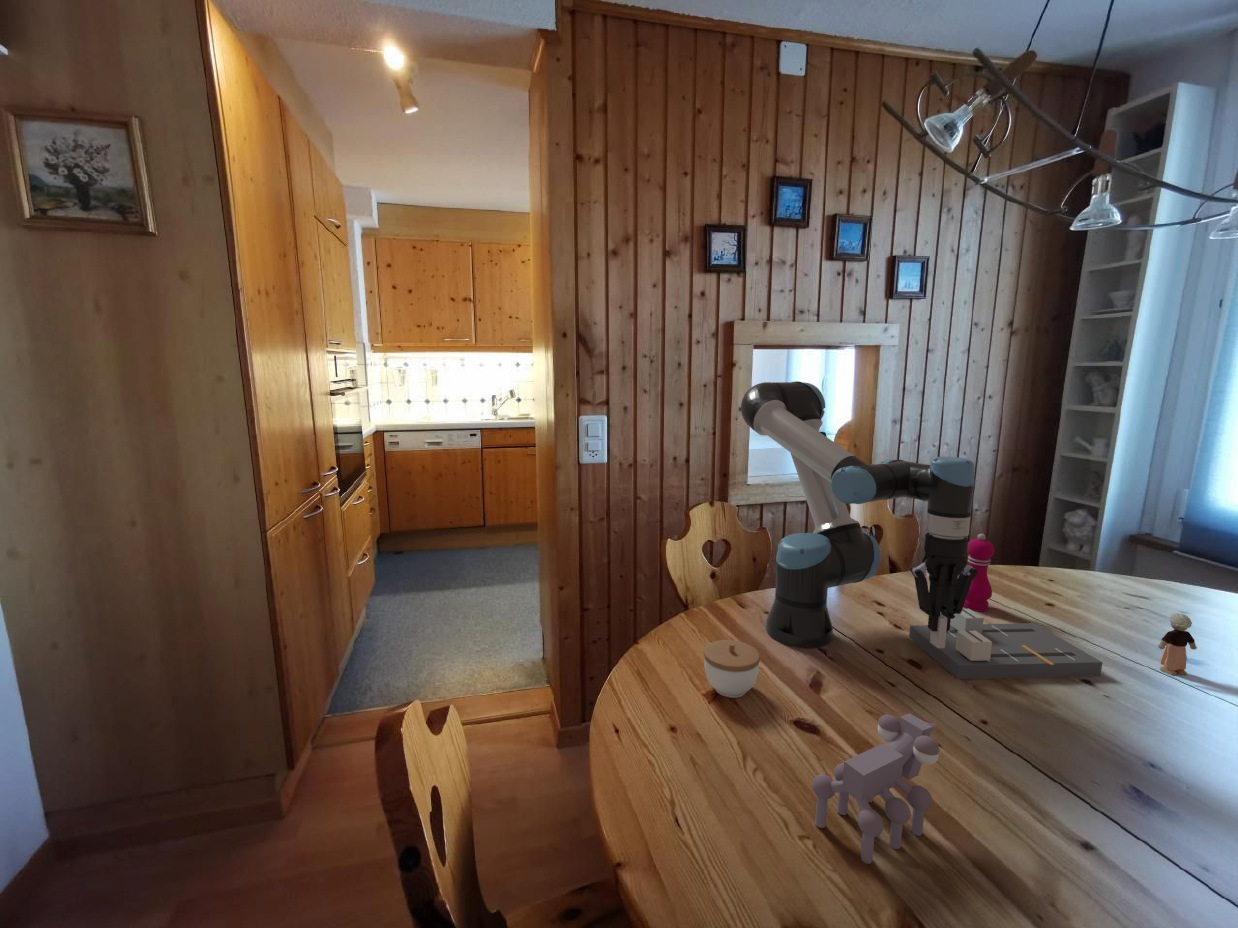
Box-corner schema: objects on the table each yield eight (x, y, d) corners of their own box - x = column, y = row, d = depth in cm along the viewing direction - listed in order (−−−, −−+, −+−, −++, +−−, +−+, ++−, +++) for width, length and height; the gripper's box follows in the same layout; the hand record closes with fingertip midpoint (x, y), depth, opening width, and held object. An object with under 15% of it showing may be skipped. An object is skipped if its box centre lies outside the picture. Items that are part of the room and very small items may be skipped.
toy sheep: (895, 769, 88) (907, 691, 85) (963, 819, 79) (979, 734, 76) (802, 816, 78) (812, 731, 76) (867, 879, 69) (881, 785, 66)
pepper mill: (962, 610, 146) (970, 536, 143) (954, 599, 153) (962, 528, 150) (994, 613, 144) (1002, 538, 141) (985, 602, 151) (993, 531, 148)
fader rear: (964, 635, 125) (966, 617, 125) (950, 625, 130) (952, 608, 129) (981, 634, 125) (983, 617, 125) (967, 624, 130) (969, 607, 130)
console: (959, 680, 113) (961, 666, 113) (909, 637, 131) (910, 625, 131) (1102, 676, 114) (1104, 662, 114) (1032, 634, 132) (1034, 622, 132)
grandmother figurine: (1173, 664, 119) (1183, 608, 117) (1195, 673, 115) (1206, 616, 113) (1146, 669, 117) (1156, 612, 115) (1168, 678, 114) (1178, 620, 112)
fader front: (970, 660, 114) (973, 641, 113) (955, 648, 119) (957, 630, 118) (990, 660, 114) (992, 641, 114) (973, 648, 119) (975, 630, 118)
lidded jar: (712, 669, 117) (713, 627, 116) (763, 682, 113) (765, 638, 111) (695, 696, 108) (696, 650, 106) (751, 710, 103) (753, 663, 102)
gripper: (925, 540, 108) (916, 654, 112) (991, 539, 109) (980, 653, 112) (904, 530, 115) (896, 637, 119) (966, 528, 116) (956, 636, 120)
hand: (937, 644), depth 116 cm, fingers closed
